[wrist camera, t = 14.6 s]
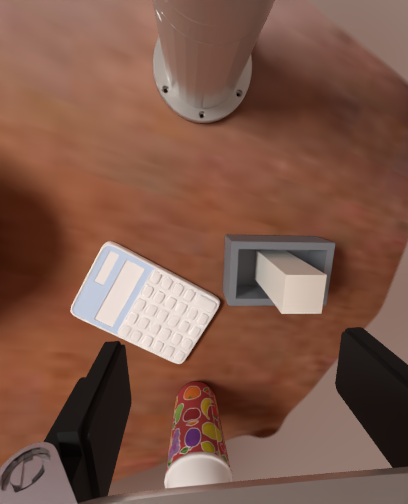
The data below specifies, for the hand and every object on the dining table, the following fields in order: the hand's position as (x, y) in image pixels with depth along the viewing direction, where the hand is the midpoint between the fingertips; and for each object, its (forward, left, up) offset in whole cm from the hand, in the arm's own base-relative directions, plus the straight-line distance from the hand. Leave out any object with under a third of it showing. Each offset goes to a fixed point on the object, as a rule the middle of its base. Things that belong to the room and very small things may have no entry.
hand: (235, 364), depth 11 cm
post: (+3, +11, -28) cm, 30 cm away
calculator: (+10, -8, -29) cm, 32 cm away
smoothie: (+27, 0, -28) cm, 40 cm away
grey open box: (+3, +11, -28) cm, 30 cm away
